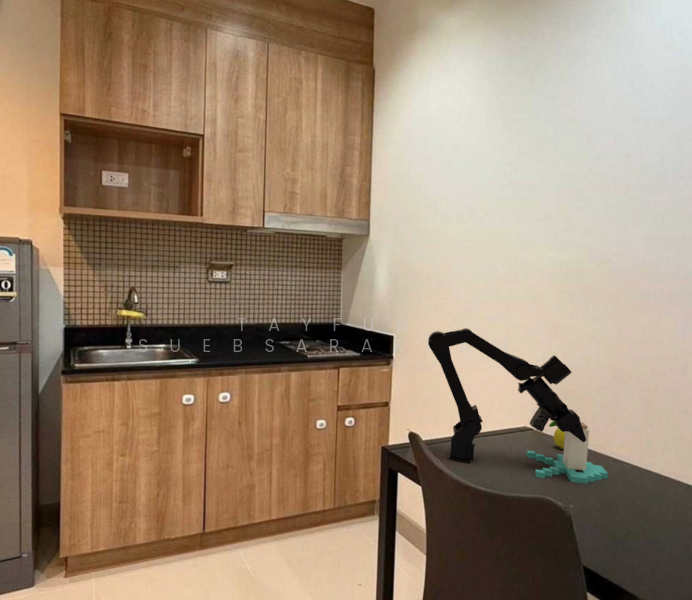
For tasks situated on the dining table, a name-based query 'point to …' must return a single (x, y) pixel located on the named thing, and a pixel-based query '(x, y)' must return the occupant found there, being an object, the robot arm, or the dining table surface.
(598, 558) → the dining table surface
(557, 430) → the lemon
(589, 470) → the alien figure
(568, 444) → the canister
